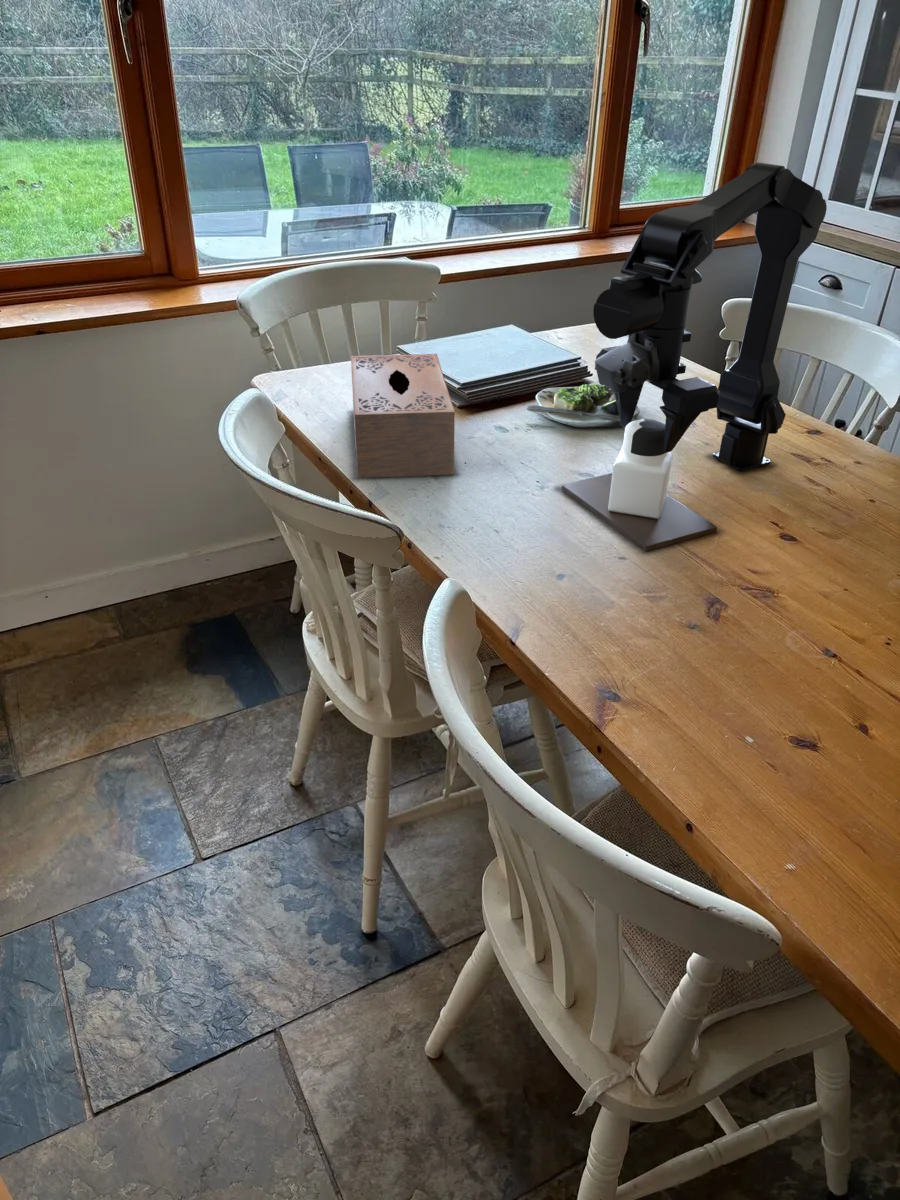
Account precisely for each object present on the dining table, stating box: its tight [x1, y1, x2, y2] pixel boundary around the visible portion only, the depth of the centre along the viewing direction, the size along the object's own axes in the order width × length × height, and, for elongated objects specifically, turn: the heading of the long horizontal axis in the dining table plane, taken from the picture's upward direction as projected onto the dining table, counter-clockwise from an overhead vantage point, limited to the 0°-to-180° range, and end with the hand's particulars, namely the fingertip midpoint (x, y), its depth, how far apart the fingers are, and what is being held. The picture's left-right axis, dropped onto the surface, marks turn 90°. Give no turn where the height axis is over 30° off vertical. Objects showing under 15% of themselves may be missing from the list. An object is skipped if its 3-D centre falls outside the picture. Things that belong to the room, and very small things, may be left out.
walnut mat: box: [561, 472, 718, 552], centre depth 128 cm, size 12×20×1 cm, turn 27°
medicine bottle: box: [608, 418, 674, 519], centre depth 124 cm, size 7×7×12 cm
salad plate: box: [526, 383, 640, 428], centre depth 157 cm, size 19×18×5 cm
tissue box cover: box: [350, 353, 456, 479], centre depth 144 cm, size 26×14×10 cm, turn 6°
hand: (645, 439), depth 122 cm, fingers open, 9 cm apart
